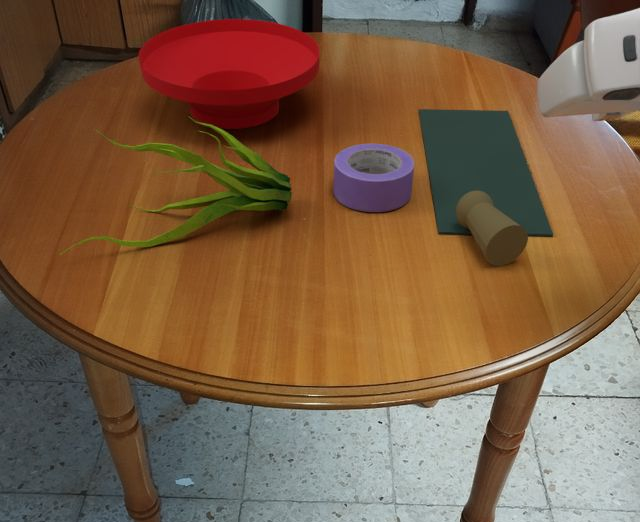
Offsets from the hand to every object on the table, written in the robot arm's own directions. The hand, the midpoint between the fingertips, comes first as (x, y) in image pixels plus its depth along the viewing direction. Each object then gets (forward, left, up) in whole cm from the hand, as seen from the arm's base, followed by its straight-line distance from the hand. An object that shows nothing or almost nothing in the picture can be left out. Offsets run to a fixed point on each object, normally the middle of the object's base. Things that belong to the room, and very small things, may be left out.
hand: (604, 113), depth 74 cm
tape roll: (+24, -19, -20) cm, 36 cm away
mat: (+7, -28, -20) cm, 35 cm away
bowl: (+48, -47, -20) cm, 70 cm away
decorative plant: (+50, -7, -20) cm, 54 cm away
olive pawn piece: (+7, 0, -17) cm, 19 cm away
